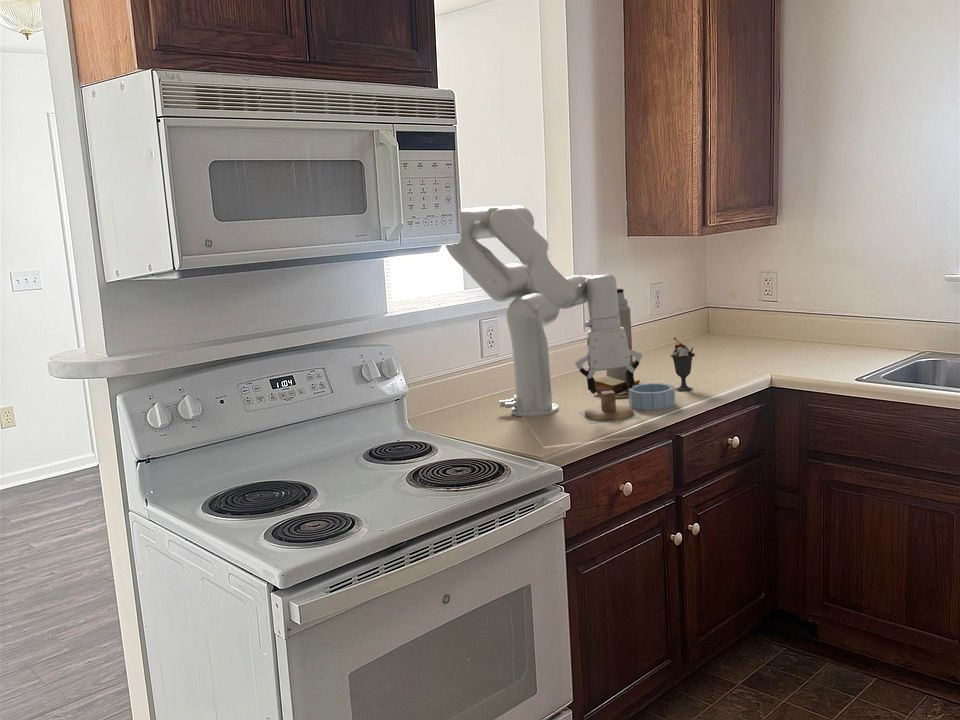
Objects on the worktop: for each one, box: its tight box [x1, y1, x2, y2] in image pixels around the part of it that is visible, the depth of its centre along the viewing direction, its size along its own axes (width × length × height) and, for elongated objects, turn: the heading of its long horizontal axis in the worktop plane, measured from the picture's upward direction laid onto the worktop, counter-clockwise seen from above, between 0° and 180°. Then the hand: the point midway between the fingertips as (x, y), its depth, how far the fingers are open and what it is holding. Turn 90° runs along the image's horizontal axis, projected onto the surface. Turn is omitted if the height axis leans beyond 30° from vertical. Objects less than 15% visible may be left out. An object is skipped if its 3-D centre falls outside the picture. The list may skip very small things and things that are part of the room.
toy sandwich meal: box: [594, 376, 640, 399], centre depth 249 cm, size 12×14×5 cm
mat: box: [578, 410, 642, 425], centre depth 227 cm, size 13×13×1 cm
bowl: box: [628, 382, 676, 412], centre depth 233 cm, size 12×12×5 cm
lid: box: [584, 390, 635, 422], centre depth 226 cm, size 12×12×6 cm
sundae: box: [670, 337, 696, 392], centre depth 248 cm, size 7×7×15 cm
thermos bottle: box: [605, 288, 635, 381], centre depth 264 cm, size 8×8×28 cm
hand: (611, 390), depth 225 cm, fingers open, 9 cm apart
